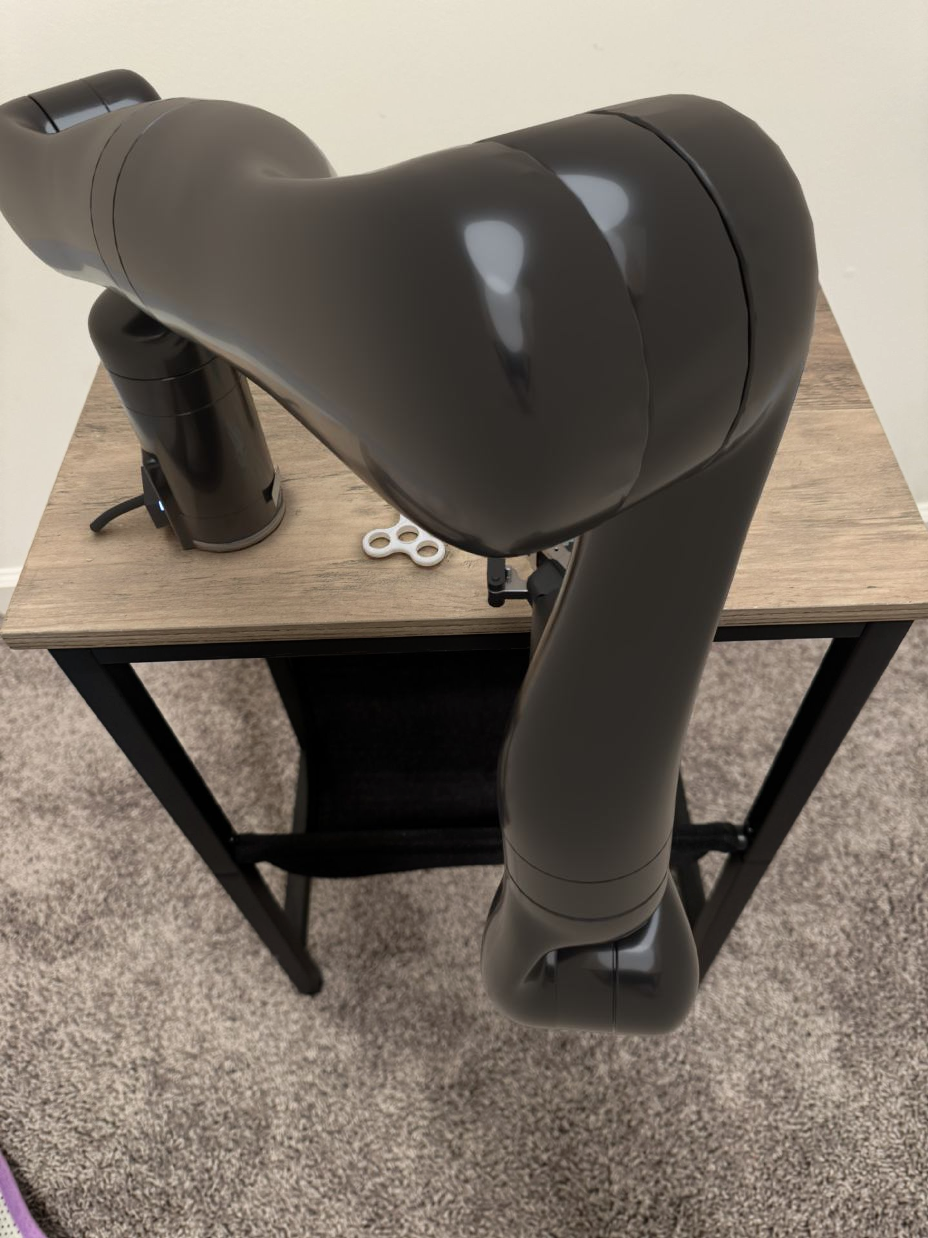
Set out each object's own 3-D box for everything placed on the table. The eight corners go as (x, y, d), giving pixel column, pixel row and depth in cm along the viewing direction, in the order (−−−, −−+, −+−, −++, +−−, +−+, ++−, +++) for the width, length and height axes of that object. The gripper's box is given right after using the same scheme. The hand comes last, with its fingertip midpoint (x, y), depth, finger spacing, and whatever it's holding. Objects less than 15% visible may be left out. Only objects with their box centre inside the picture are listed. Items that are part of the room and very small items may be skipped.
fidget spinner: (358, 555, 68) (357, 549, 67) (383, 501, 72) (382, 494, 71) (439, 570, 67) (439, 564, 66) (461, 514, 70) (460, 507, 70)
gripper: (720, 646, 47) (699, 453, 57) (471, 633, 48) (493, 447, 58) (696, 713, 53) (681, 528, 63) (476, 700, 54) (494, 521, 64)
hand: (591, 489), depth 60 cm, fingers open, 8 cm apart
